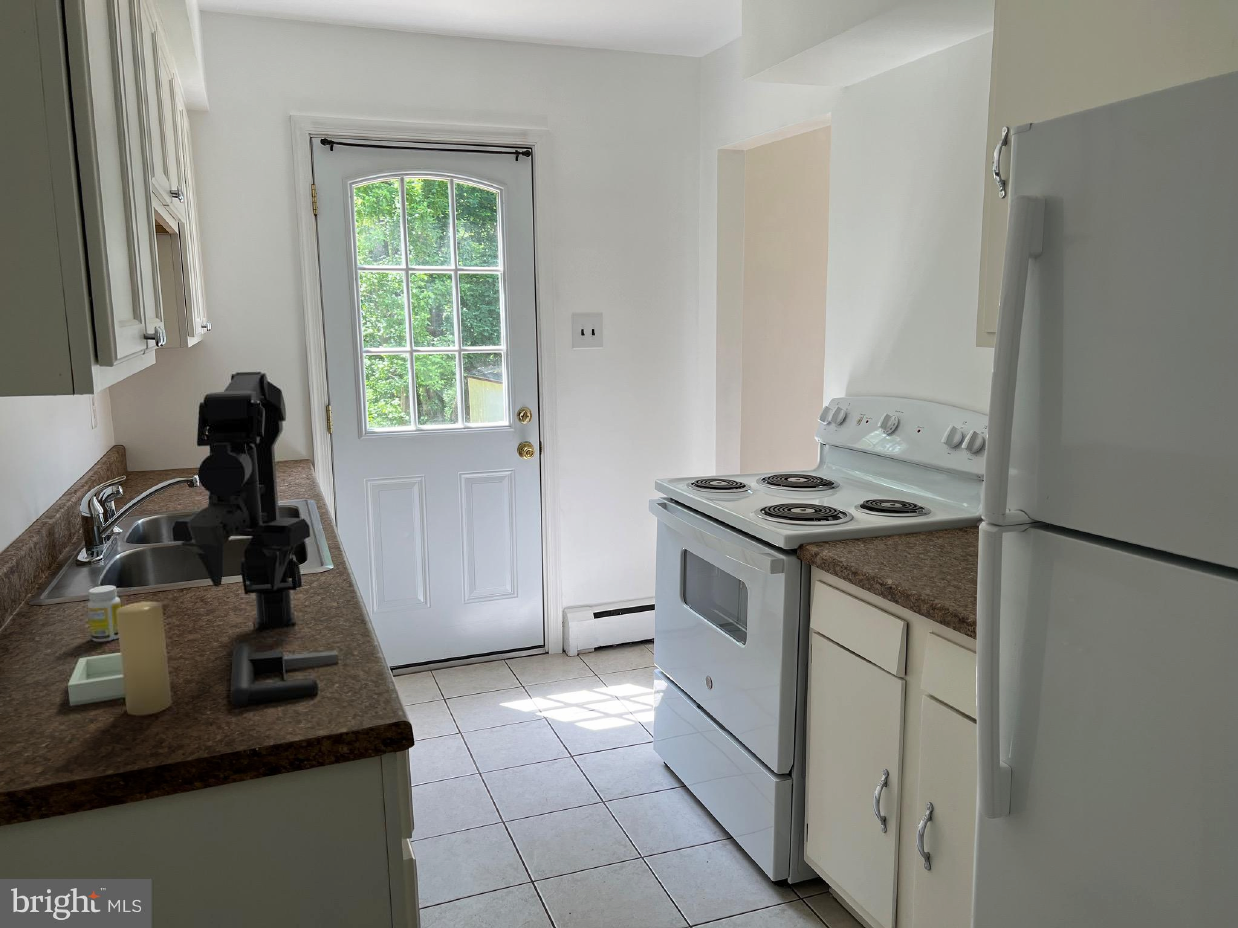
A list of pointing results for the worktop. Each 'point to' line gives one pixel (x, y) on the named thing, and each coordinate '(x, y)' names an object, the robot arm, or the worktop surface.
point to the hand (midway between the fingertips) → (245, 587)
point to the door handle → (266, 663)
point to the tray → (97, 679)
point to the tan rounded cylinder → (144, 658)
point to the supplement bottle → (103, 613)
